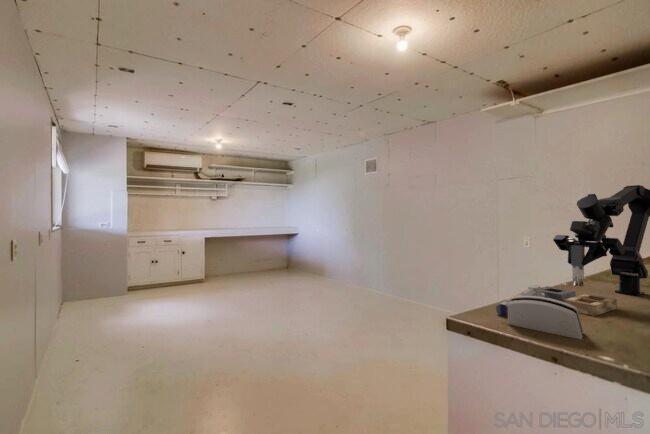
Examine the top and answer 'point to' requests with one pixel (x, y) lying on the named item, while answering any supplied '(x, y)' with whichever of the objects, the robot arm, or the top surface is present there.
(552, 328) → the grey arched slab
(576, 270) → the tall grey square pillar
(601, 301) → the rack
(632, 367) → the top surface
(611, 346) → the top surface
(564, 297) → the socket
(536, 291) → the white bulb-headed handheld tool
